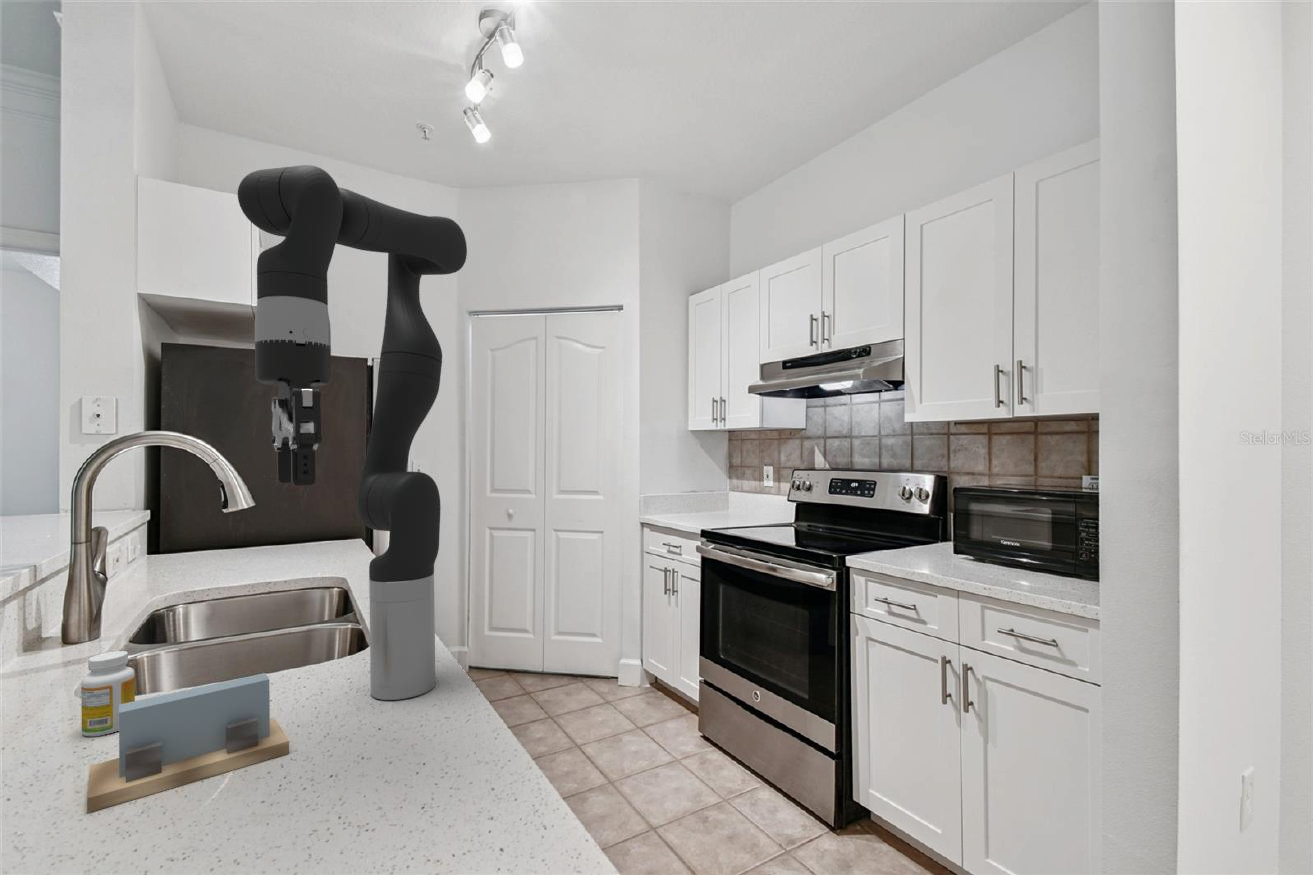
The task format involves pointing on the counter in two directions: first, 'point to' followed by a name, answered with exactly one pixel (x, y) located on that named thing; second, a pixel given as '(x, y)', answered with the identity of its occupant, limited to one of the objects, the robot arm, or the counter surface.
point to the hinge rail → (180, 765)
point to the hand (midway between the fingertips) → (295, 483)
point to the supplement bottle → (106, 692)
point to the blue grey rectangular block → (193, 718)
